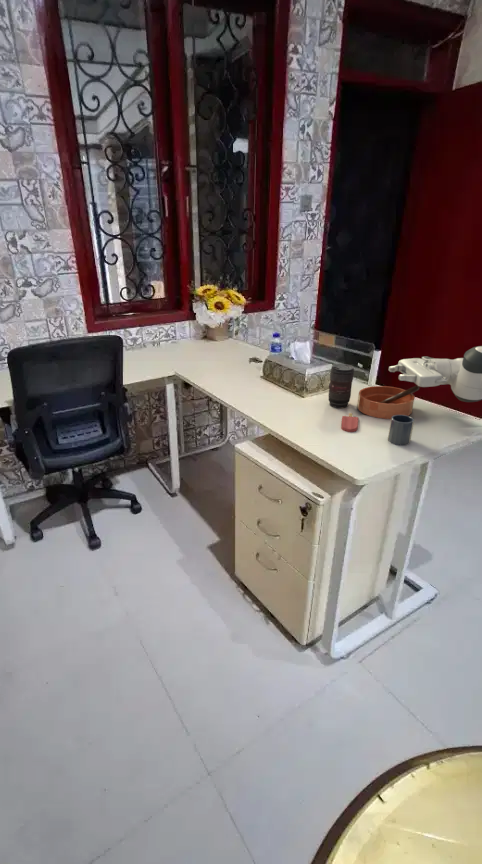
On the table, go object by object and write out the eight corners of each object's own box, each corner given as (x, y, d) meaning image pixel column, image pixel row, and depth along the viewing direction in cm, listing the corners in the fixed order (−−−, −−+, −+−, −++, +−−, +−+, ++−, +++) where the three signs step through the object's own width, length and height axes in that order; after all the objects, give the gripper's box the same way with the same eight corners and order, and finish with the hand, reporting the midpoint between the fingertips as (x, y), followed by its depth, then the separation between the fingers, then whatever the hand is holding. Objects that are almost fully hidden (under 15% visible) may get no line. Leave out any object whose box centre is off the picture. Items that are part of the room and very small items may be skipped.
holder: (401, 436, 131) (406, 413, 127) (414, 445, 125) (418, 421, 122) (383, 439, 130) (387, 415, 127) (394, 448, 125) (399, 424, 121)
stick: (374, 407, 152) (418, 387, 147) (376, 410, 150) (420, 390, 146) (373, 403, 150) (417, 383, 146) (375, 407, 149) (419, 387, 145)
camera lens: (337, 410, 152) (341, 371, 145) (323, 403, 159) (326, 365, 152) (354, 406, 155) (359, 367, 148) (339, 399, 162) (343, 362, 155)
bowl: (393, 398, 159) (395, 384, 157) (422, 417, 143) (425, 401, 140) (348, 403, 157) (350, 388, 155) (373, 422, 141) (375, 406, 138)
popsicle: (359, 412, 146) (357, 430, 133) (358, 416, 147) (357, 434, 134) (343, 410, 148) (340, 428, 135) (342, 414, 148) (340, 432, 136)
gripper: (448, 391, 135) (404, 392, 136) (421, 371, 153) (382, 373, 154) (452, 372, 132) (407, 373, 133) (424, 355, 150) (385, 356, 151)
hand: (394, 373), depth 143 cm, fingers open, 8 cm apart
